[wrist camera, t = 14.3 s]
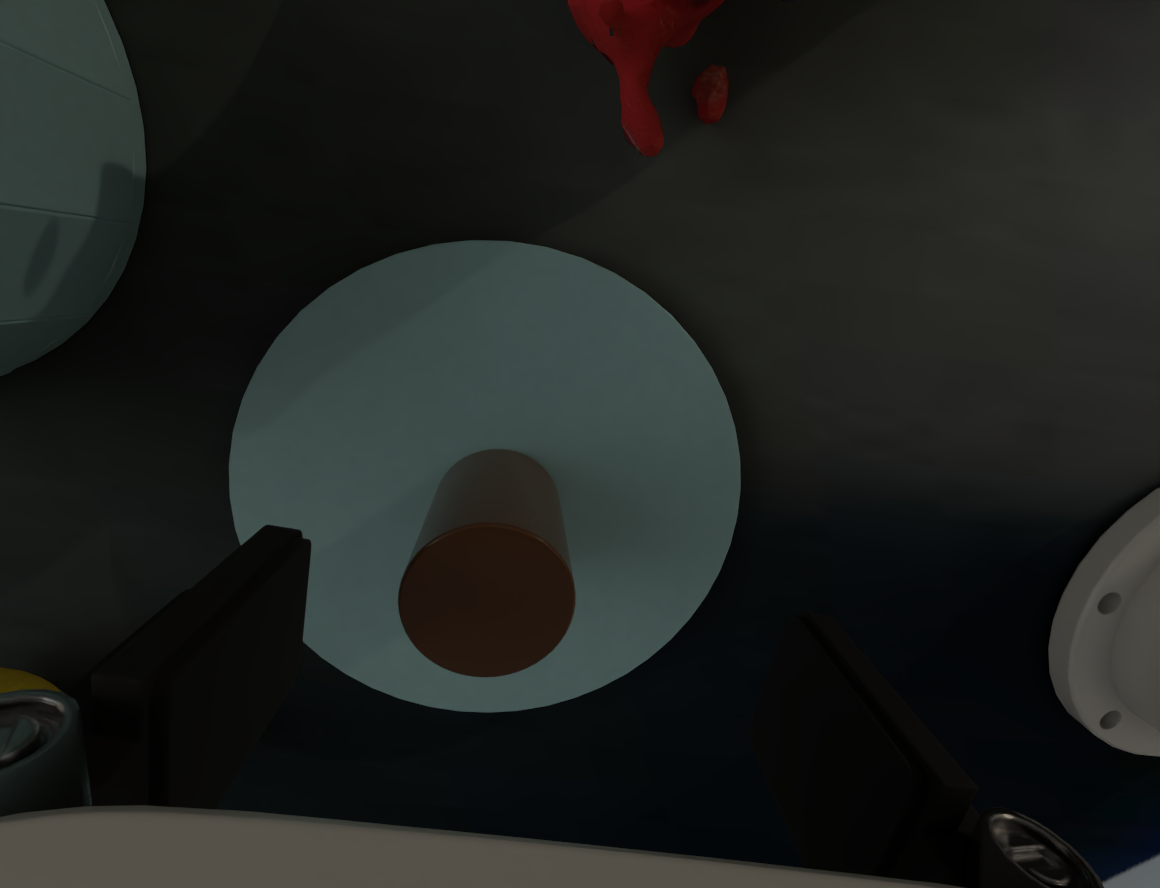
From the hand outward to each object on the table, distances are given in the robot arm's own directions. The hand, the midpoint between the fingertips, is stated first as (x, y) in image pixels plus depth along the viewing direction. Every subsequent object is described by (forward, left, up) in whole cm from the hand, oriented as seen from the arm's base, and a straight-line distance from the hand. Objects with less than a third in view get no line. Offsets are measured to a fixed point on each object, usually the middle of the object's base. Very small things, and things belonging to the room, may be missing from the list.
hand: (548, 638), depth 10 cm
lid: (+1, 0, -7) cm, 7 cm away
